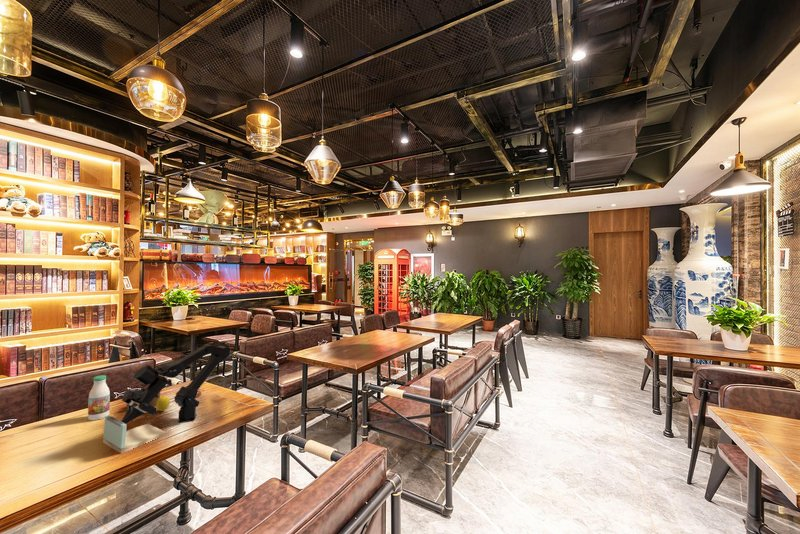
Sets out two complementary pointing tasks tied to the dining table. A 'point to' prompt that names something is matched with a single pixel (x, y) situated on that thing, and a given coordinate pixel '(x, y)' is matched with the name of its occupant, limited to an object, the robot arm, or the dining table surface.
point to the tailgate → (115, 431)
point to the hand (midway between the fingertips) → (121, 424)
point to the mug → (155, 400)
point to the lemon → (163, 403)
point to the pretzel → (198, 393)
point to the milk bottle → (99, 399)
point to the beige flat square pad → (138, 437)
